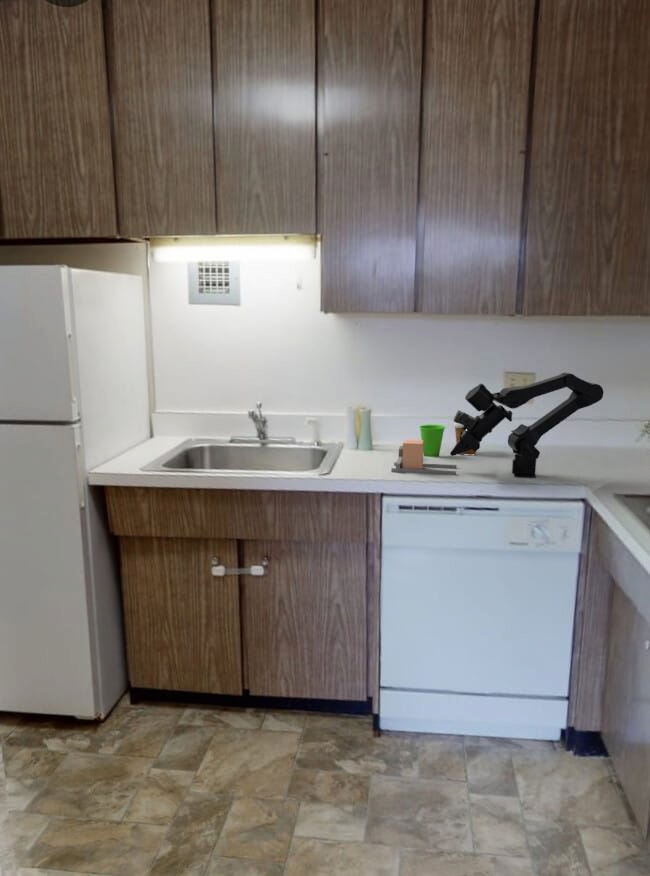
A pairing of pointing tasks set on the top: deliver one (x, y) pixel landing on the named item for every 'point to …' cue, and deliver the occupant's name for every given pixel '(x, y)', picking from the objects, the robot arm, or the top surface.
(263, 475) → the top surface
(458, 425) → the disposable coffee cup
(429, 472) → the track
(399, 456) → the walnut block
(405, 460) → the terracotta block
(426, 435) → the cup
